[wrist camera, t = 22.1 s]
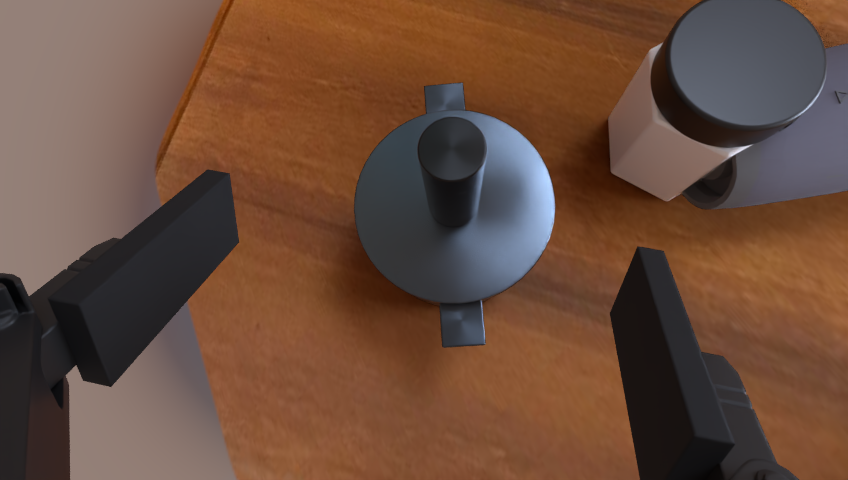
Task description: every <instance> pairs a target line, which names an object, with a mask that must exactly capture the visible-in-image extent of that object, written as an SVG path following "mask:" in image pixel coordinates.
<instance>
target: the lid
mask: <svg viewBox="0 0 848 480" xmlns="http://www.w3.org/2000/svg"><path fill="white" fill-rule="evenodd" d="M354 214H355V223H356V228H357V232H358V236H359V238H360V241H361V243H362V246H363V248H364V250H365V252H366V253H367V255H368V257H369V259H370V260H371V261H372V263H373V264H374V265H375V267H376V268H377V269H378V270H379V271H380V272H381V273H382V274H383V275H384V276H385V277H386V278H387V279H388V280H389V281H390V282H392V283H393V284H394V285H395V286H397V287H398V288H400V289H402V290H403V291H405V292H407V293H408V294H411V295H413V296H415V297H418V298H420V299H423V300H427V301H431V302H435V303H442V304H466V303H473V302H478V301H481V300H485V299H488V298H491V297H493V296H495V295H498V294H500V293H502V292H503V291H505V290H507V289H509V288H510V287H512V286H513V285H514V284H516V283H517V282H518V281H519V280H521V279H522V278H523V277H524V276H525V275H526V274H527V273H528V272H529V271H530V270H531V269H532V268H533V266H534V265H535V264H536V262H537V261H538V260H539V258H540V257H541V255H542V253H543V251H544V249H545V248H546V246H547V243H548V241H549V238H550V235H551V232H552V228H553V223H554V216H555V195H554V189H553V184H552V180H551V177H550V174H549V171H548V169H547V167H546V165H545V163H544V161H543V159H542V157H541V156H540V155H539V153H538V152H537V150H536V149H535V147H534V146H533V145H532V144H531V143H530V142H529V141H528V139H527V138H525V137H524V136H523V135H522V134H521V133H520V132H518V131H517V130H516V129H514V128H513V127H511V126H510V125H508V124H507V123H505V122H503V121H501V120H499V119H497V118H495V117H492V116H489V115H486V114H483V113H479V112H474V111H467V110H443V111H437V112H432V113H428V114H424V115H421V116H419V117H416V118H414V119H411V120H409V121H407V122H406V123H404V124H402V125H400V126H399V127H397V128H396V129H395V130H393V131H392V132H391V133H389V134H388V135H387V136H386V137H385V138H384V139H383V140H382V141H381V142H380V143H379V144H378V145H377V146H376V148H375V149H374V150H373V151H372V153H371V154H370V156H369V158H368V159H367V161H366V162H365V165H364V167H363V169H362V171H361V173H360V176H359V180H358V183H357V186H356V192H355V199H354Z"/></svg>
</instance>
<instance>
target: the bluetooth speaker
mask: <svg viewBox="0 0 848 480" xmlns="http://www.w3.org/2000/svg"><path fill="white" fill-rule="evenodd" d="M825 51H826V56H827V74H826V80H825V83H824V86H823V89H822V91H821V93H820V95H819V97H818V98H817V100H816V101H815V102H814V104H813V105H812V106H811V107H810V108H809V109H808V110H807V111H806V112H805V113H804V114H803V115H801V116H800V117H799V118H798V119H797V120H796V121H795V122H794V123H792V124H791V125H789V126H788V127H787V128H785V129H784V130H782V131H781V132H779V131H778V132H777V133H775V134H774V135H772V136H771V137H769V138H767V139H765V140H763V141H761V142H759V143H756V144H753V145H752V146H750V147H748V148H746V149H745V150H743V151H741V152H739V153H738V154H736V155H734V156H733V157H732V160H730V161H728V162H727V163H725V164H724V165H722V166H721V167H719V168H718V169H716V170H715V171H713V172H712V173H711V174H709V175H708V176H706V177H705V179H704V180H703V181H701V182H699V183H697V184H695V185H694V186H692V187H690V188H688V189H686V190H685V191H683V192H682V194H683V195H684V196H685V198H686V199H687V200H688V201H689V202H690V203H692V204H693V205H695V206H696V207H698V208H701V209H724V208H736V207H746V206H754V205H761V204H767V203H774V202H780V201H787V200H793V199H800V198H806V197H813V196H819V195H825V194H831V193H837V192H843V191H848V44H844V45H839V46H834V47H830V48H825Z"/></svg>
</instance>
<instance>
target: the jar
mask: <svg viewBox="0 0 848 480" xmlns="http://www.w3.org/2000/svg"><path fill="white" fill-rule="evenodd" d="M826 74H827V56H826V51H825V48H824V44H823V42H822V40H821V37H820V35H819V34H818V32H817V30H816V29H815V27H814V26H813V25H812V23H811V22H810V21H809V20H808V19H807V18H806V17H805V16H804V15H803V14H802V13H800V12H799V11H798V10H797V9H795V8H794V7H792V6H791V5H789V4H787V3H785V2H783V1H781V0H703V1H701V2H699V3H698V4H696V5H694V6H693V7H691V8H690V9H689V10H688V11H687V12H685V13H684V14H683V15H682V16H681V17H680V18H679V20H678V21H677V22H676V24H675V25H674V27H673V28H672V30H671V31H670V33H669V34H668V36H667V37H666V39H665V41H664V42H663V43H661V44H659V45H658V46H656V47H654V48H652V49H650V50H649V52H648V53H647V55H646V57H645V58H644V60H643V62H642V63H641V65H640V66H639V68H638V70H637V71H636V73H635V75H634V76H633V78H632V80H631V81H630V83H629V84H628V86H627V88H626V89H625V91H624V93H623V94H622V96H621V98H620V99H619V101H618V102H617V104H616V106H615V107H614V109H613V111H612V112H611V114H610V116H609V117H608V125H609V146H610V169H611V173H612V174H614V175H616V176H618V177H620V178H622V179H623V180H625V181H627V182H629V183H631V184H633V185H635V186H637V187H639V188H641V189H643V190H645V191H647V192H648V193H650V194H652V195H654V196H656V197H658V198H660V199H662V200H664V201H670V200H671V199H673V198H675V197H677V196H679V195H680V194H682V192H683V191H685V190H686V189H688V188H690V187H692V186H694V185H695V184H697V183H699V182H701V181H703V180H704V179H705V177H706V176H708V175H709V174H711V173H712V172H713V171H715V170H716V169H718V168H719V167H721V166H722V165H724V164H725V163H727V162H728V161H730V160H732V157H733V156H734V155H736V154H738V153H739V152H741V151H743V150H745V149H746V148H748V147H750V146H752V145H753V144H756V143H759V142H761V141H763V140H765V139H767V138H769V137H771V136H772V135H774V134H775V133H777V132H778V131H779V132H781V131H782V130H784V129H785V128H787V127H788V126H789V125H791V124H792V123H794V122H795V121H796V120H797V119H798V118H799V117H800V116H801V115H803V114H804V113H805V112H806V111H807V110H808V109H809V108H810V107H811V106H812V105H813V104H814V102H815V101H816V100H817V98H818V97H819V95H820V93H821V91H822V89H823V86H824V83H825V80H826Z"/></svg>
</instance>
